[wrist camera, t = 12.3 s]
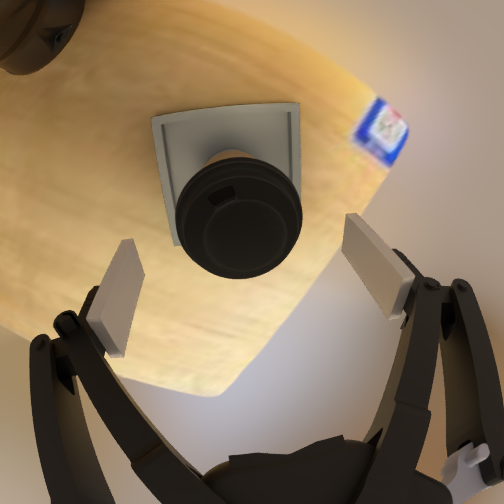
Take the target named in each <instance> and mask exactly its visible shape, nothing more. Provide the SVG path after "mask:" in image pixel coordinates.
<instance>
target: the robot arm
mask: <svg viewBox="0 0 504 504" xmlns="http://www.w3.org/2000/svg"><path fill="white" fill-rule="evenodd" d="M84 3H85V0H0V67H1V68H3V69H5V70H6V71H7V72H9V73H10V74H13V75H28V74H31V73H34V72H36V71H38V70H40V69H41V68H43V67H44V66H46V65H47V64H48V63H50V62H51V61H52V60H53V59H54V58H55V57H56V56H57V55H58V54H59V53H60V52H61V51H62V50H63V48H64V47H65V46H66V44H67V43H68V42H69V40H70V39H71V37H72V36H73V34H74V32H75V30H76V29H77V27H78V24H79V22H80V20H81V17H82V14H83V10H84ZM342 253H343V254H344V255H345V257H346V258H347V260H348V261H349V263H350V264H351V265H352V267H353V268H354V270H355V271H356V273H357V274H358V275H359V277H360V279H361V280H362V281H363V283H364V285H365V286H366V288H367V289H368V291H369V292H370V294H371V295H372V297H373V298H374V299H375V301H376V303H377V304H378V306H379V307H380V309H381V311H382V312H383V314H384V315H385V317H386V319H387V320H388V321H390V320H393V319H396V318H400V315H401V313H402V310H403V309H404V311H405V312H406V317H405V319H404V321H403V324H402V326H401V328H400V329H402V333H401V337H400V341H399V345H398V348H397V352H396V356H395V359H394V363H393V366H392V370H391V373H390V376H389V379H388V382H387V385H386V388H385V391H384V394H383V397H382V400H381V403H380V405H379V408H378V411H377V413H376V416H375V418H374V421H373V423H372V426H371V428H370V430H369V431H368V433H367V435H366V436H365V438H364V440H363V442H361V441H356V440H344V437H343V435H340V436H337V437H333V438H329V439H325V440H321V441H317V442H315V443H313V444H311V445H308V446H307V447H304V448H302V449H300V450H298V451H296V452H294V453H291V454H286V455H285V454H268V453H250V454H242V455H231V456H229V461H227V462H224V463H221V464H219V465H217V466H215V467H214V468H212V469H211V470H209V471H208V472H207V473H206V474H205V475H204V476H203V475H202V474H201V473H200V472H199V471H197V470H196V469H195V468H194V467H193V466H192V465H191V464H190V463H189V462H188V461H186V460H185V459H184V458H183V457H182V456H181V455H180V453H179V452H178V451H177V450H176V449H175V448H174V447H173V446H172V445H171V444H170V443H169V442H168V441H167V440H166V438H164V436H163V435H162V434H161V433H160V432H159V431H158V429H157V428H156V427H155V426H154V425H153V424H152V422H151V421H150V420H149V419H148V417H147V416H146V415H145V414H144V413H143V411H142V410H141V409H140V407H139V406H138V405H137V404H136V402H135V401H134V400H133V398H132V397H131V396H130V394H129V393H128V392H127V390H126V389H125V387H124V386H123V385H122V383H121V382H120V380H119V379H118V377H117V376H116V374H115V373H114V371H113V370H112V368H111V367H110V365H109V364H108V362H107V361H106V359H105V358H104V355H105V351H106V352H107V353H108V355H109V356H110V358H124V355H125V350H126V345H127V341H128V337H129V332H130V328H131V324H132V320H133V316H134V312H135V308H136V305H137V301H138V297H139V294H140V290H141V287H142V283H143V280H144V276H145V274H144V271H143V268H142V265H141V262H140V259H139V256H138V253H137V249H136V246H135V243H134V240H133V239H126V240H122V241H121V243H120V245H119V247H118V249H117V251H116V253H115V255H114V257H113V259H112V261H111V263H110V265H109V267H108V269H107V271H106V273H105V275H104V278H103V280H102V282H101V284H100V286H94V287H93V288H92V289H91V290H90V291H89V293H88V295H87V297H86V301H84V304H83V306H82V308H81V310H80V313H79V315H78V316H77V314H76V313H75V312H74V311H71V310H68V311H64V312H62V313H61V314H59V315H58V316H57V317H56V319H55V320H54V323H53V327H54V329H55V330H56V332H57V333H58V335H59V336H60V337H59V338H56V339H53V340H51V339H50V338H49V336H48V335H46V334H40V335H38V336H36V337H35V338H34V339H33V340H32V342H31V344H30V358H29V359H30V361H29V362H30V363H29V364H30V365H29V368H30V393H31V406H32V416H33V424H34V431H35V437H36V443H37V448H38V453H39V458H40V463H41V467H42V471H43V474H44V478H45V482H46V485H47V489H48V492H49V495H50V498H51V504H115V501H114V498H113V496H112V494H111V492H110V489H109V487H108V484H107V482H106V480H105V477H104V475H103V472H102V470H101V467H100V464H99V462H98V459H97V456H96V453H95V450H94V447H93V444H92V441H91V438H90V435H89V431H88V428H87V424H86V421H85V416H84V413H83V408H82V404H81V400H80V396H79V391H78V386H77V380H76V375H78V377H79V378H80V381H81V383H82V385H83V387H84V389H85V390H86V392H87V394H88V396H89V398H90V400H91V401H92V403H93V405H94V407H95V408H96V410H97V412H98V414H99V415H100V417H101V419H102V420H103V422H104V423H105V425H106V426H107V428H108V430H109V431H110V432H111V434H112V436H113V437H114V439H115V440H116V442H117V443H118V444H119V446H120V447H121V449H122V450H123V451H124V453H125V454H126V456H127V457H128V458H129V460H130V462H131V467H132V469H133V470H134V472H135V473H136V475H137V476H138V477H139V478H140V480H141V481H142V482H143V483H144V484H145V486H146V487H147V488H148V489H149V490H150V491H151V493H152V494H153V495H154V496H155V497H156V498H157V499H158V500H159V501H160V502H161V503H162V504H462V503H464V502H465V501H467V500H468V499H470V498H472V497H473V496H475V495H476V494H478V493H479V492H481V491H482V490H485V489H487V488H489V487H492V486H494V485H496V484H498V483H500V482H503V481H504V406H503V398H502V392H501V386H500V381H499V376H498V371H497V366H496V362H495V358H494V354H493V350H492V346H491V343H490V339H489V336H488V332H487V329H486V325H485V323H484V319H483V316H482V313H481V310H480V308H479V305H478V302H477V300H476V297H475V294H474V292H473V289H472V287H471V286H470V284H469V283H468V282H467V281H465V280H463V279H455V280H453V282H452V284H451V286H441V285H440V283H439V282H438V281H436V280H435V279H433V278H429V277H424V276H423V275H422V274H421V273H420V272H419V271H418V270H417V268H416V267H415V266H414V265H413V264H411V262H410V261H409V260H408V259H407V257H406V256H405V255H404V254H403V253H402V252H400V251H398V250H397V249H391V248H390V247H389V246H388V245H387V244H386V243H385V242H384V241H383V240H382V239H381V238H380V236H379V235H378V234H376V232H375V231H374V230H373V229H372V228H371V227H370V226H369V225H368V224H367V223H366V222H365V221H364V220H363V219H362V218H361V217H360V216H359V215H358V214H357V213H353V214H346V218H345V227H344V235H343V243H342ZM439 343H440V349H441V356H442V364H443V374H444V385H445V400H446V447H447V456H448V459H447V460H446V462H445V465H444V467H443V468H442V470H441V476H442V477H443V480H442V482H439V481H437V480H435V479H433V478H431V477H429V476H426V475H424V474H423V473H421V472H419V471H417V470H415V468H416V466H417V463H418V460H419V457H420V454H421V451H422V448H423V445H424V441H425V438H426V434H427V431H428V427H429V423H430V419H431V411H429V410H428V403H429V399H430V394H431V389H432V384H433V378H434V373H435V367H436V360H437V352H438V344H439Z"/></svg>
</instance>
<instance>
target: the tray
mask: <svg viewBox="0 0 504 504" xmlns="http://www.w3.org/2000/svg"><path fill="white" fill-rule="evenodd" d="M151 123H152V131H153V138H154V144H155V151H156V157H157V163H158V169H159V175H160V180H161V186H162V191H163V196H164V202H165V207H166V211H167V216H168V221H169V226H170V230H171V235H172V239H173V243H174V246H181V243H180V241H179V238H178V235H177V231H176V224H175V210H176V205H177V201H178V198H179V196H180V193H181V191H182V190H183V188H184V186H185V185H186V184H187V182H188V181H189V180H190V179H191V178H192V177H193V176H194V175H195V174H196V173H197V172H198V171H200V170H201V169H202V167H203V166H204V165H205V164H206V163H207V162H208V161H209V160H210V158H211V157H212V156H214V155H215V154H216V153H218V152H220V151H222V150H226V149H238V150H241V151H243V152H245V153H248V154H250V155H251V156H253V157H254V158H256V159H259V160H262V161H265V162H267V163H269V164H271V165H273V166H275V167H276V168H278V169H279V170H281V171H282V172H283V173H284V174H285V175H286V176H287V177H288V178H289V179H290V180H291V182H292V183H293V185H294V186H295V188H296V190H297V192H298V195H299V198H300V202H301V137H300V103H260V104H243V105H231V106H220V107H211V108H203V109H196V110H189V111H182V112H176V113H170V114H165V115H159V116H155V117H151Z"/></svg>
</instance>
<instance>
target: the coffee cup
mask: <svg viewBox="0 0 504 504" xmlns="http://www.w3.org/2000/svg"><path fill="white" fill-rule="evenodd" d="M302 220H303V214H302V206H301V202H300V198H299V195H298V192H297V190H296V188H295V186H294V185H293V183H292V182H291V180H290V179H289V178H288V177H287V176H286V175H285V174H284V173H283V172H282V171H281V170H279V169H278V168H276V167H275V166H273V165H271V164H269V163H267V162H265V161H262V160H259V159H256V158H254V157H253V156H251V155H250V154H248V153H245V152H243V151H241V150H238V149H226V150H222V151H220V152H218V153H216V154H215V155H214V156H212V157H211V158H210V160H209V161H208V162H207V163H206V164H205V165H204V166H203V167H202V169H201V170H200V171H198V172H197V173H196V174H195V175H194V176H193V177H192V178H191V179H190V180H189V181H188V182H187V184H186V185H185V186H184V188H183V190H182V191H181V193H180V196H179V198H178V201H177V205H176V210H175V224H176V231H177V235H178V238H179V241H180V243H181V245H182V247H183V249H184V250H185V252H186V253H187V254H188V256H189V257H190V258H191V259H192V260H193V261H194V262H196V263H197V264H198V265H200V266H201V267H202V268H204V269H205V270H207V271H208V272H210V273H212V274H214V275H217V276H220V277H224V278H229V279H247V278H253V277H257V276H260V275H262V274H265V273H267V272H269V271H270V270H272V269H274V268H275V267H277V266H278V265H279V264H280V263H281V262H282V261H283V260H284V259H285V258H286V257H287V256H288V254H289V253H290V251H291V250H292V248H293V247H294V245H295V243H296V241H297V239H298V237H299V235H300V231H301V227H302Z"/></svg>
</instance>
